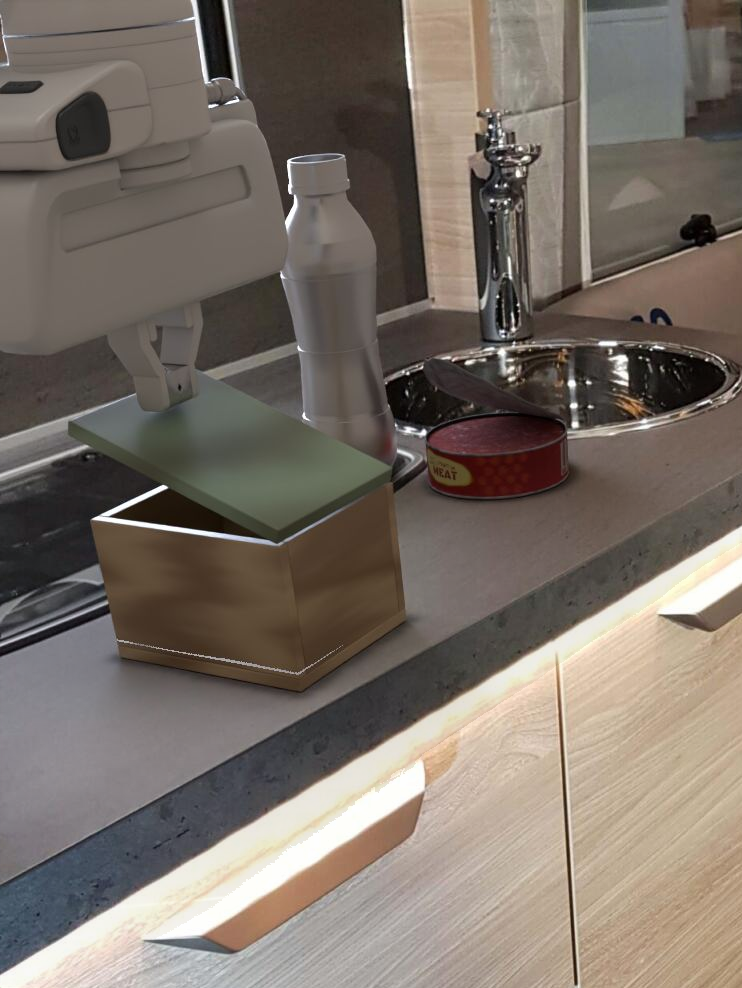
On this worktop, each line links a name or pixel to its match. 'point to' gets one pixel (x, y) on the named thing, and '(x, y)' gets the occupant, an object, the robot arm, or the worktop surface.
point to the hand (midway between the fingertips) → (170, 404)
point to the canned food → (493, 441)
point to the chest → (249, 587)
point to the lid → (235, 457)
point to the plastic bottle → (336, 309)
